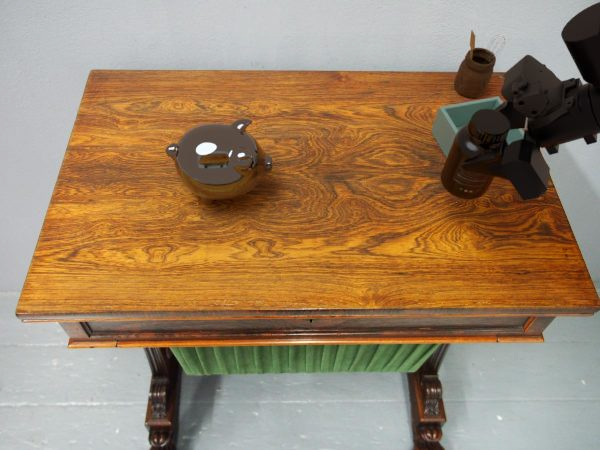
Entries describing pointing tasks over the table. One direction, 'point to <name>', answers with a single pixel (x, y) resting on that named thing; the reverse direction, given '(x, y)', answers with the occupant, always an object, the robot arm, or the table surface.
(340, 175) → the table surface
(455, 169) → the supplement bottle
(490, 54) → the utensil holder
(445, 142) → the open storage bin
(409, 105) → the table surface
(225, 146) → the piggy bank
